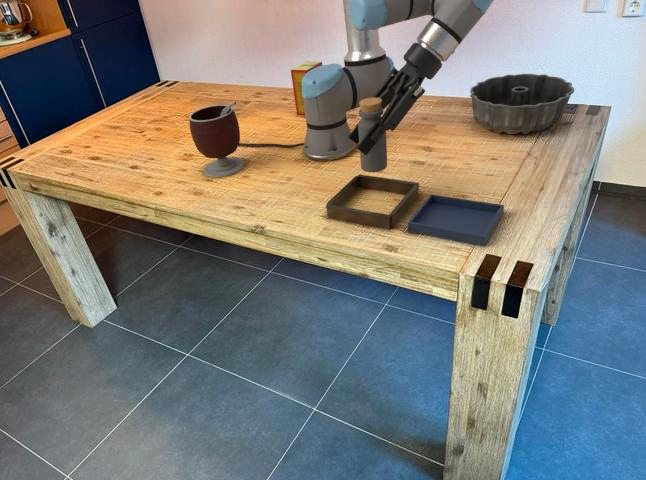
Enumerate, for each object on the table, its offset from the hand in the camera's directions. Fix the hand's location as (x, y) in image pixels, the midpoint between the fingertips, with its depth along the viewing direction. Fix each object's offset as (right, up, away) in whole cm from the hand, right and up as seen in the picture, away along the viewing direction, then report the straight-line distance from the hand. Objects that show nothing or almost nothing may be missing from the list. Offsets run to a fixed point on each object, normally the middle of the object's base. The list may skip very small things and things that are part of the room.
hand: (356, 145), depth 111 cm
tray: (+21, -17, -1) cm, 27 cm away
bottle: (+4, -4, +4) cm, 7 cm away
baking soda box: (-6, +30, +71) cm, 77 cm away
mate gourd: (-33, +4, +42) cm, 54 cm away
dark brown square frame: (+5, -12, +10) cm, 16 cm away
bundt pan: (+51, +15, +35) cm, 64 cm away
